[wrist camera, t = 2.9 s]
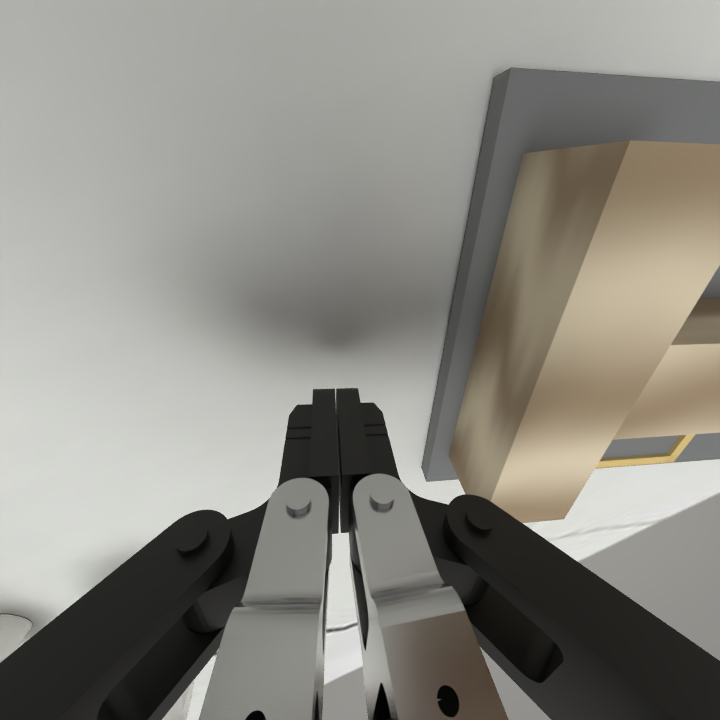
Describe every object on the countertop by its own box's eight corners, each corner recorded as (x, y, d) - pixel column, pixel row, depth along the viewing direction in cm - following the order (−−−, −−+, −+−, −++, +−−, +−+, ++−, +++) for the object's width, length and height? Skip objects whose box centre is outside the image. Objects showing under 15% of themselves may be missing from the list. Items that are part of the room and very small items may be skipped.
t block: (523, 153, 10) (630, 140, 6) (834, 165, 11) (1062, 159, 8) (448, 456, 17) (480, 526, 14) (642, 443, 18) (716, 504, 15)
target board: (494, 77, 10) (515, 65, 9) (1071, 114, 12) (1141, 108, 11) (421, 467, 19) (427, 484, 18) (757, 443, 21) (779, 457, 20)
